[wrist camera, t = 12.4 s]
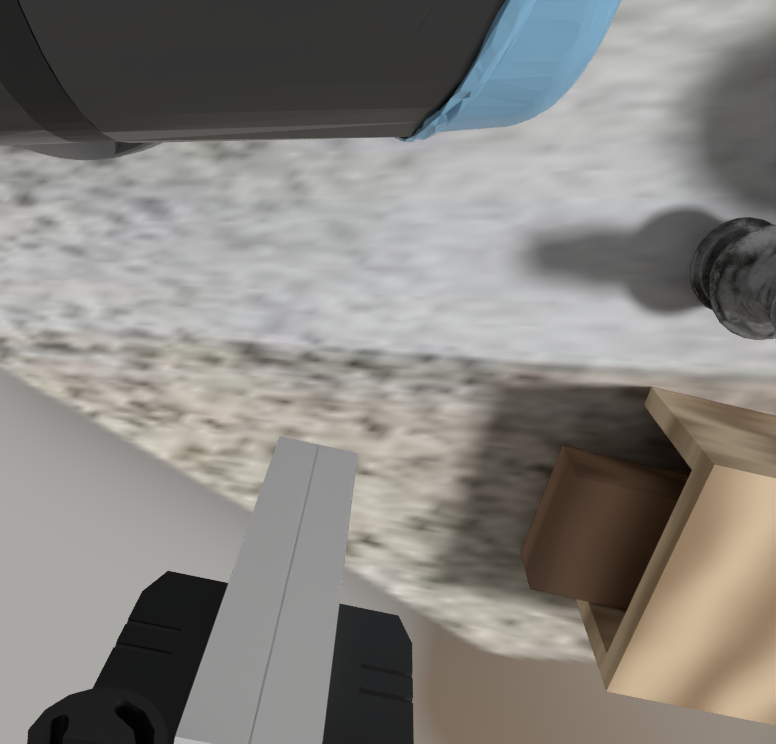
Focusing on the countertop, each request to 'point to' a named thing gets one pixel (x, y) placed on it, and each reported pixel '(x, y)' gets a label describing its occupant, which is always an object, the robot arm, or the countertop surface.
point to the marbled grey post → (739, 276)
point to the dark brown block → (598, 526)
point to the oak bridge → (704, 573)
